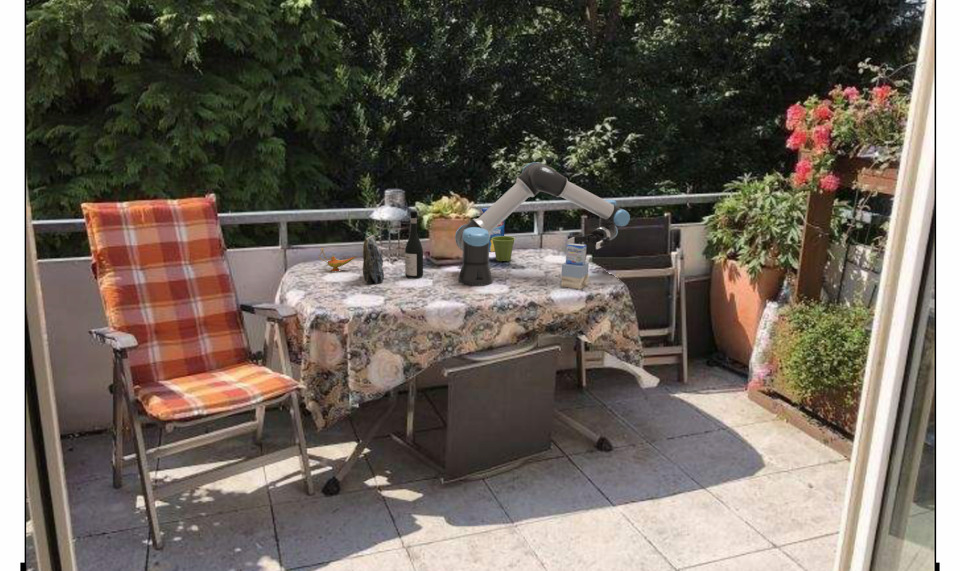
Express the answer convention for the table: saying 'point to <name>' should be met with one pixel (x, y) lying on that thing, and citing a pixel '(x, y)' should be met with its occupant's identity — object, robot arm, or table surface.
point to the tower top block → (574, 270)
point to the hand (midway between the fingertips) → (582, 244)
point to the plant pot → (503, 247)
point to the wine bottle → (414, 251)
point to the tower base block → (575, 282)
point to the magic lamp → (336, 261)
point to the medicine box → (576, 254)
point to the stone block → (372, 261)
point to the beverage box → (495, 232)
